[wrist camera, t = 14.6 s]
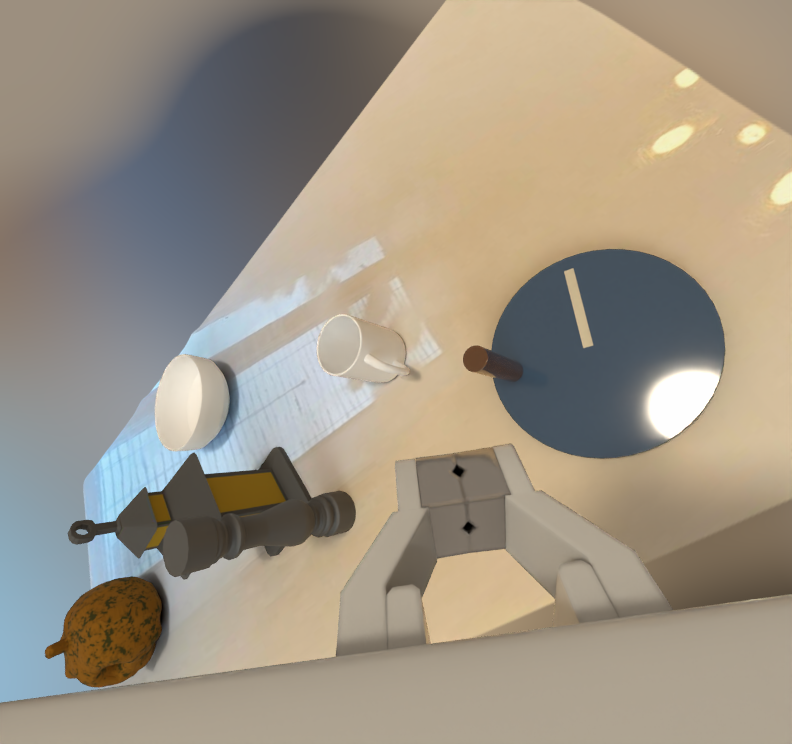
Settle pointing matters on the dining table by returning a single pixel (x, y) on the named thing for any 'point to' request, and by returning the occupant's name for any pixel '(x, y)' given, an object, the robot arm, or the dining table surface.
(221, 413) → the bowl
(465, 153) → the dining table surface
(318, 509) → the candle holder
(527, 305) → the blue disc with peg
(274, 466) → the lantern
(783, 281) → the dining table surface
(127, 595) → the decorative pumpkin
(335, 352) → the cup
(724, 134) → the dining table surface
